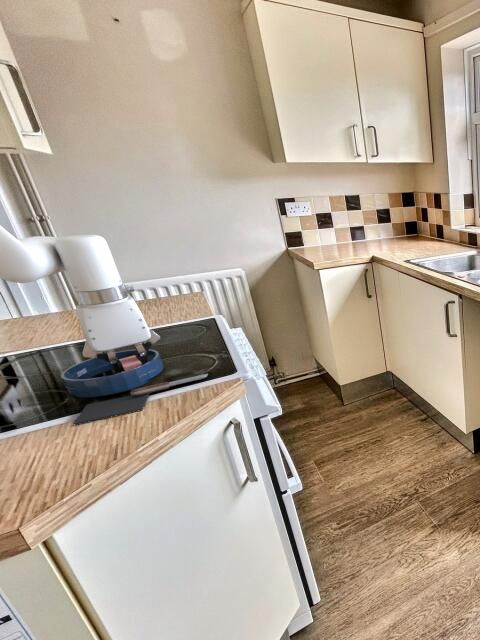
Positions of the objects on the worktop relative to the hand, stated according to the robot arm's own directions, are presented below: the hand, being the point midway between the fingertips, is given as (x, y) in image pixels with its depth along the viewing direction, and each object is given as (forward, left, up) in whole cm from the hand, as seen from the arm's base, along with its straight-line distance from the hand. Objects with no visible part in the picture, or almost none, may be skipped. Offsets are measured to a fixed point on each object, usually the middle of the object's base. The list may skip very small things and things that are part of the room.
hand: (134, 373), depth 95 cm
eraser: (0, 0, 0) cm, 0 cm away
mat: (-1, -15, -1) cm, 15 cm away
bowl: (-3, -1, -1) cm, 3 cm away
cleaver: (+8, -10, -1) cm, 13 cm away
